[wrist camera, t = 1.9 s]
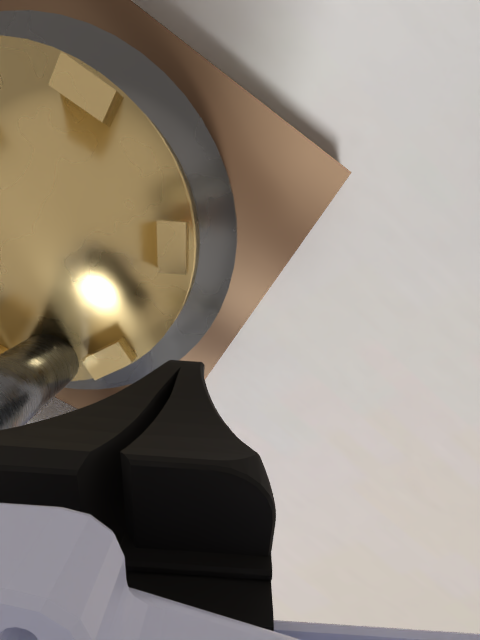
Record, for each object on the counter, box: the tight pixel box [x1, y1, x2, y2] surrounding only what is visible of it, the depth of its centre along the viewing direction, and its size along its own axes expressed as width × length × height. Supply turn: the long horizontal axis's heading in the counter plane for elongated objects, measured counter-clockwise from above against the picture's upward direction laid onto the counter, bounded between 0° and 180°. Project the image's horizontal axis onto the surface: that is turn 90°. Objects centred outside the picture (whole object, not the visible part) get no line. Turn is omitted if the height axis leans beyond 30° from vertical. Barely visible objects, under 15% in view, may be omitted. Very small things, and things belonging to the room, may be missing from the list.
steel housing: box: [0, 10, 237, 389], centre depth 14 cm, size 15×15×2 cm
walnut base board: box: [0, 0, 351, 409], centre depth 15 cm, size 18×18×2 cm
